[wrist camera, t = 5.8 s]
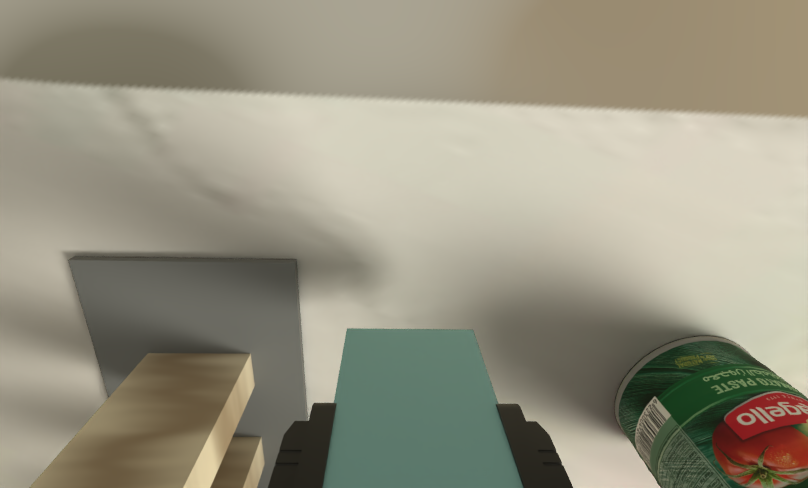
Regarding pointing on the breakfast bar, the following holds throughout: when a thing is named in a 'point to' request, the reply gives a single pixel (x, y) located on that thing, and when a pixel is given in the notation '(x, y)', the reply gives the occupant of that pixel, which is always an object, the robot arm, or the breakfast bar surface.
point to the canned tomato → (714, 418)
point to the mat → (203, 326)
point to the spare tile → (416, 414)
